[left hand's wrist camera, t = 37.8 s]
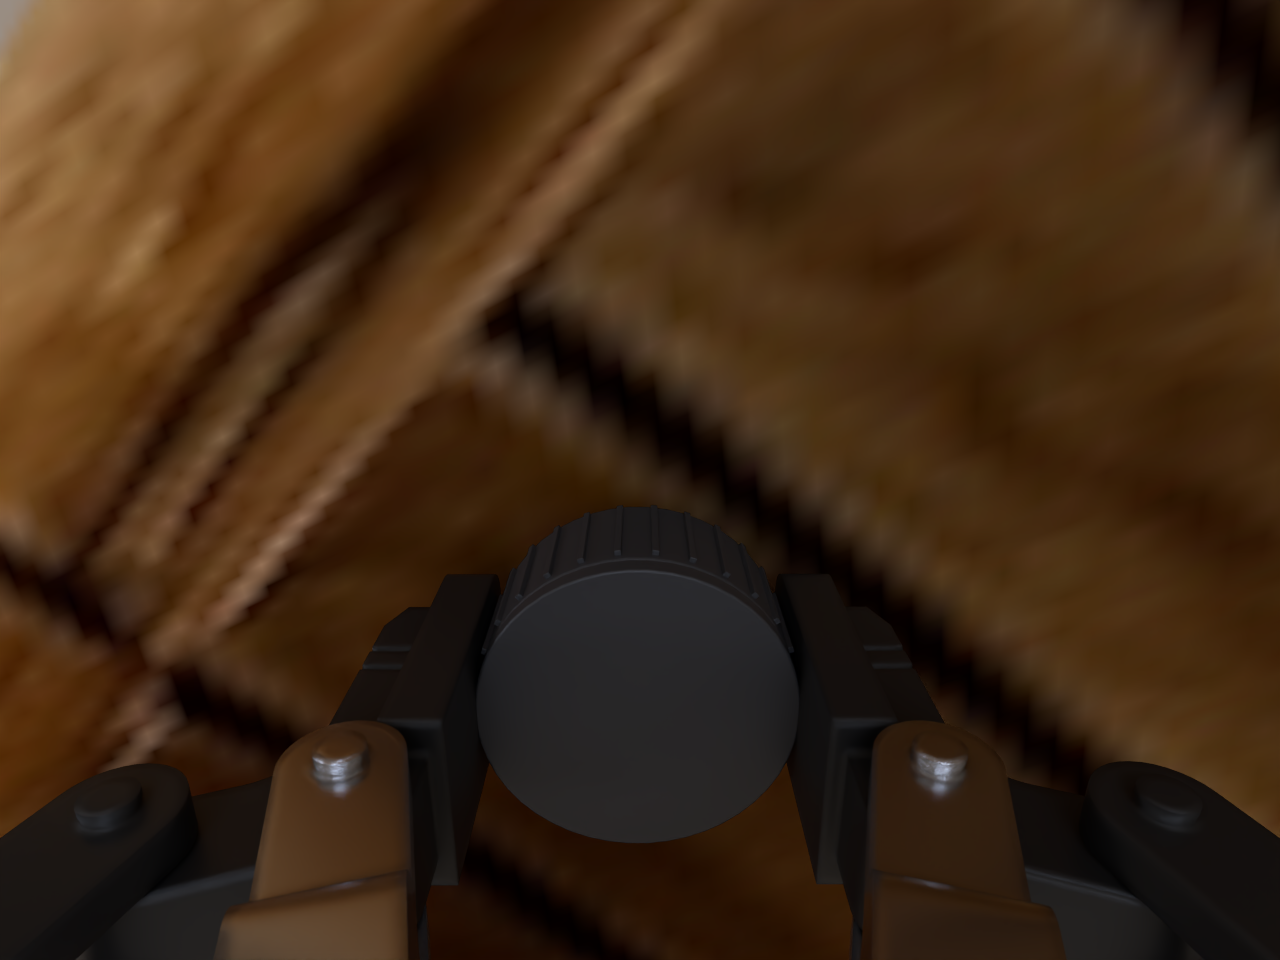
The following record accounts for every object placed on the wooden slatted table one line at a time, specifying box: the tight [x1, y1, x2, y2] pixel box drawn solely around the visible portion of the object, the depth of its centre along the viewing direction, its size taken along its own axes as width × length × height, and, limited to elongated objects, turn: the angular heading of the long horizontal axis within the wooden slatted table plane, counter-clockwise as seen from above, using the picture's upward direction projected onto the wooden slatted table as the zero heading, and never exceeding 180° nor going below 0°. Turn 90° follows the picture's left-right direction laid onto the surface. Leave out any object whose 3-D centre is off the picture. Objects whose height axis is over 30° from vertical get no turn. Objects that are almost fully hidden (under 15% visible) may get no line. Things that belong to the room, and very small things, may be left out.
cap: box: [476, 505, 800, 843], centre depth 11 cm, size 4×4×2 cm
